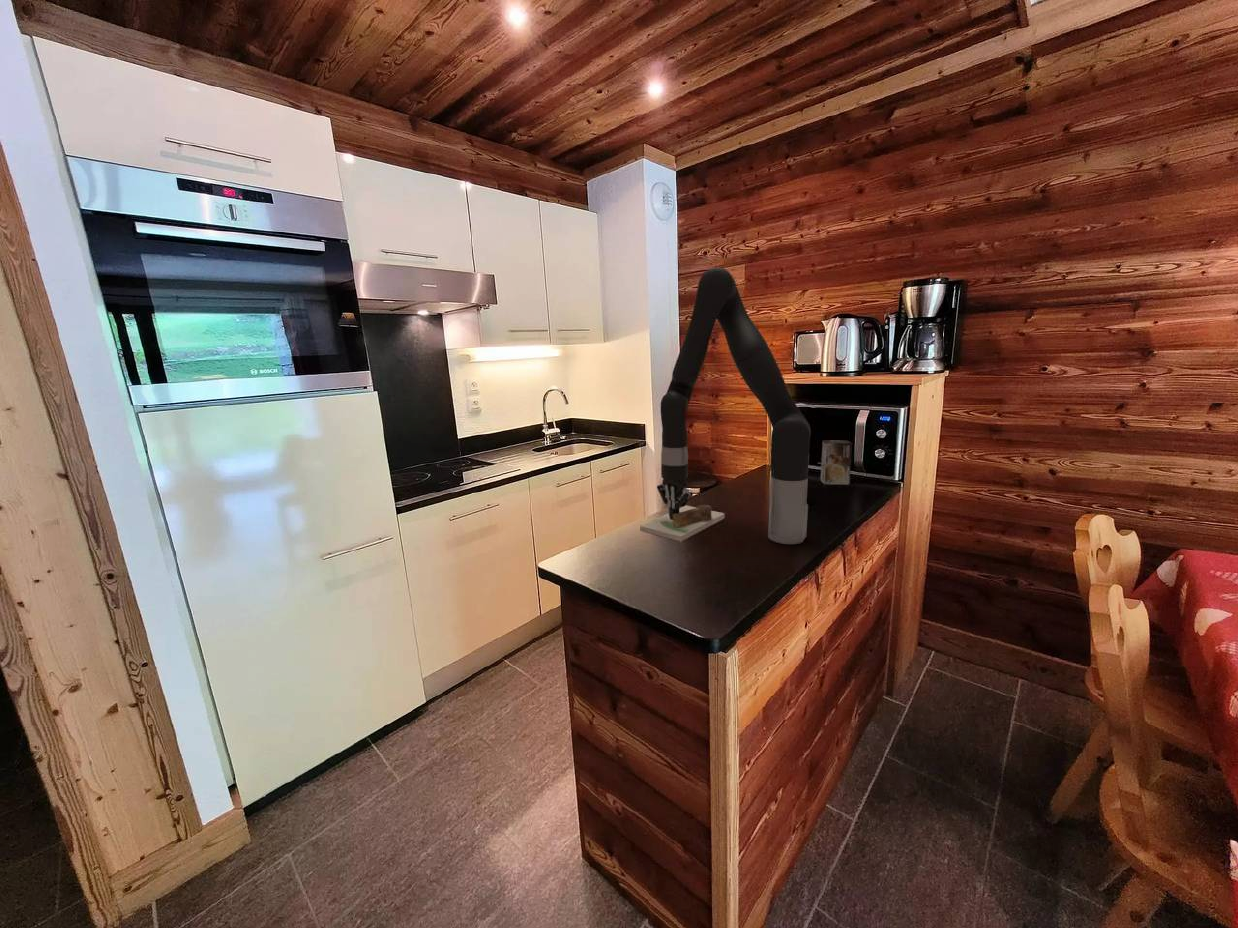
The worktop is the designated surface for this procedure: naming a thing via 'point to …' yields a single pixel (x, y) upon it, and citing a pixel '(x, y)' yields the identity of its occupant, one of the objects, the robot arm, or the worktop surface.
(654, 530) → the dial board
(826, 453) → the coffee box
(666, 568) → the worktop surface
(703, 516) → the brown wooden block
